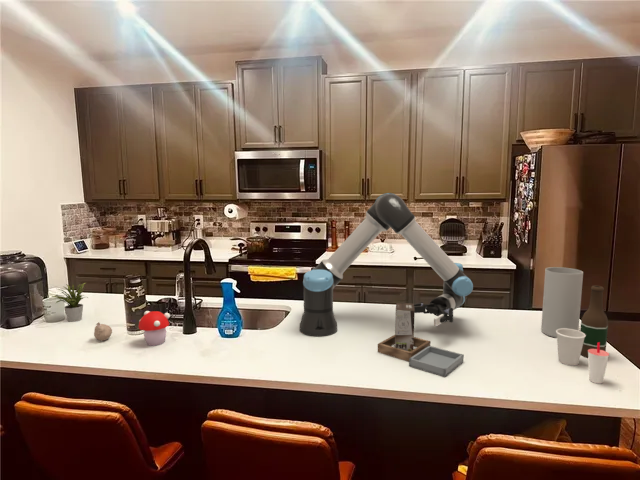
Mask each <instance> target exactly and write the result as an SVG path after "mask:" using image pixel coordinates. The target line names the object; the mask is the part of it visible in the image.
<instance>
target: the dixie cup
mask: <svg viewBox="0 0 640 480" xmlns="http://www.w3.org/2000/svg"><path fill="white" fill-rule="evenodd" d="M556 333H557V338H556V343H557V344H556V345H557V359H558V362H559V363H561V364H564V365H565V366H571V367H572V366H578V365H579V362H580V358H581V356H582V355H581V350H582V346H583V342H584V338H585V337H586V335H585V334H584V333H583V332H581V331H580V330H574V329H567V328H561V329H557V330H556Z"/></svg>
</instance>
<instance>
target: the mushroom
mask: <svg viewBox="0 0 640 480" xmlns="http://www.w3.org/2000/svg"><path fill="white" fill-rule="evenodd" d="M170 314H171V313H168V312H165V313H163V312H161V311H157V310H156V311H155V310H154V311H153V310H152V311H149V310H146V311H144V313H143V316H142V317H141V318H140V319H139V320H138V330H140V331H144V333H143V336H144V339H145V340H144V341H145V345H147V346H150V347H154V346H160V345H162V344H163V345H164V343H166V336H167V330H166V328H167V327H169V326H170V322H169V318H170V317H171V315H170Z"/></svg>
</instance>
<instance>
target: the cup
mask: <svg viewBox="0 0 640 480" xmlns="http://www.w3.org/2000/svg"><path fill="white" fill-rule="evenodd" d="M609 356H610V353H609V352H608V351H603V350H600V342H598V343H597V349H588V358H587V359H588V361H587V362H588V380H589V381H590V382H592V383H595V384H597V385H598V384H603V383H604V377H605V374H606V370H607V365H608V361H609Z"/></svg>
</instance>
